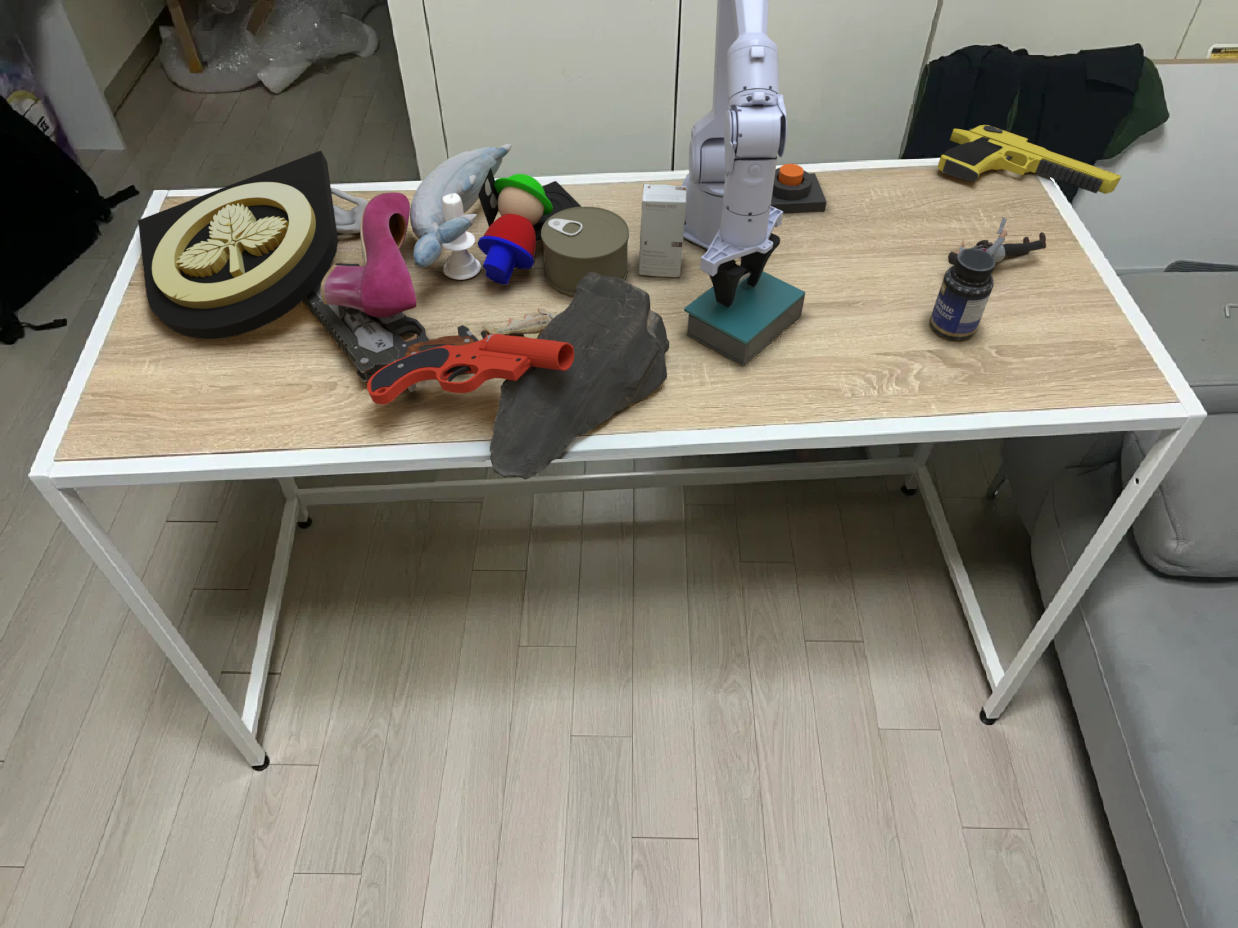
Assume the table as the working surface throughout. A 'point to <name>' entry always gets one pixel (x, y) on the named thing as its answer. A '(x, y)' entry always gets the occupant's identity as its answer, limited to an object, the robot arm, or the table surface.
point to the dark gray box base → (736, 348)
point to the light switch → (555, 204)
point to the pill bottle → (963, 295)
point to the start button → (791, 174)
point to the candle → (459, 244)
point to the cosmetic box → (662, 230)
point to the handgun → (1018, 159)
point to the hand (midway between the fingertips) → (736, 293)
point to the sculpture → (449, 177)
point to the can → (584, 246)
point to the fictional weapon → (376, 334)
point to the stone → (581, 375)
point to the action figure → (1003, 246)
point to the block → (798, 195)
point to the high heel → (376, 263)
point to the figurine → (348, 213)
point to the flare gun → (469, 364)
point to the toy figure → (510, 223)
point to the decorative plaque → (241, 251)
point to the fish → (525, 325)
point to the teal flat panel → (746, 306)
